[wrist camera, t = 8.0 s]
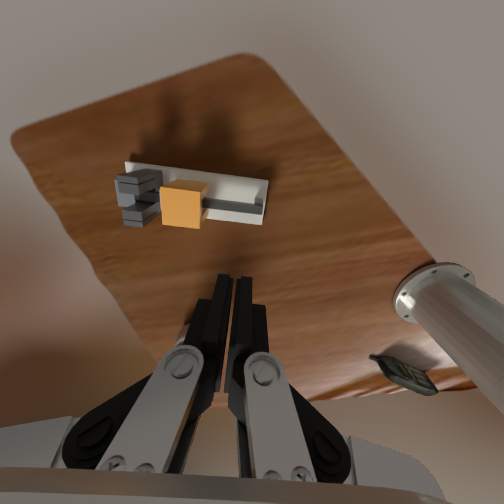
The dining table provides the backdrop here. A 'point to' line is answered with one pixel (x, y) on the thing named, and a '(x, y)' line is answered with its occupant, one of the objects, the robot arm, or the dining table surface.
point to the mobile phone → (406, 376)
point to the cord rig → (221, 185)
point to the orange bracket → (184, 203)
